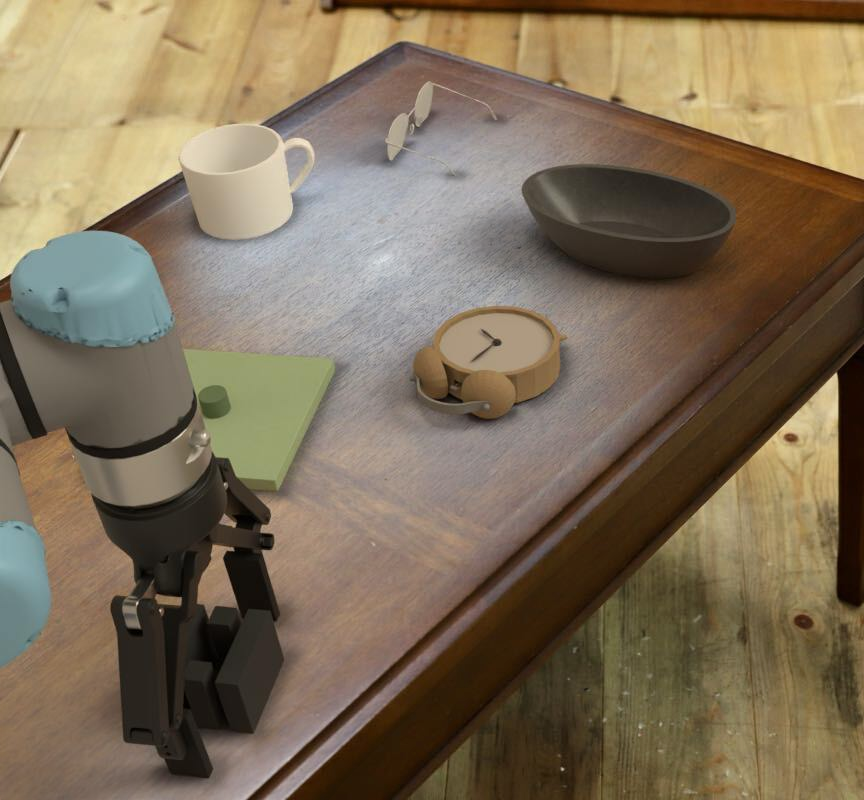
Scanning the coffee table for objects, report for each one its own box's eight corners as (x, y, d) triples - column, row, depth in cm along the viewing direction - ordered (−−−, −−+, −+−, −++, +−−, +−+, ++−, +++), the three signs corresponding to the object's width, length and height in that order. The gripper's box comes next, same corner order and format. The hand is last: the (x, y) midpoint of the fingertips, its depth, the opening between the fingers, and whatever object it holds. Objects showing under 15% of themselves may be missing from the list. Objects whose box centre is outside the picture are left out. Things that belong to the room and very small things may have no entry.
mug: (196, 250, 141) (177, 181, 135) (195, 198, 148) (177, 131, 143) (328, 230, 143) (315, 161, 137) (320, 179, 151) (307, 113, 145)
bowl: (556, 203, 145) (552, 151, 141) (754, 246, 137) (756, 192, 133) (502, 263, 137) (497, 210, 133) (709, 313, 129) (710, 258, 125)
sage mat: (94, 478, 115) (83, 449, 113) (169, 360, 127) (160, 331, 125) (278, 493, 112) (270, 463, 110) (336, 371, 124) (330, 342, 122)
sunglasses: (431, 111, 161) (433, 73, 158) (498, 129, 160) (501, 92, 157) (383, 170, 151) (384, 131, 148) (454, 191, 150) (457, 152, 147)
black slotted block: (164, 726, 95) (144, 675, 91) (199, 653, 100) (181, 602, 96) (254, 736, 94) (237, 685, 90) (285, 661, 99) (270, 610, 95)
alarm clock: (586, 327, 123) (486, 397, 112) (583, 375, 126) (485, 447, 115) (484, 292, 128) (379, 354, 117) (483, 338, 131) (381, 404, 119)
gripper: (125, 634, 73) (215, 854, 87) (278, 346, 92) (332, 564, 106) (-5, 622, 74) (103, 841, 88) (172, 340, 93) (239, 556, 107)
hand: (228, 691), depth 97 cm, fingers open, 13 cm apart
